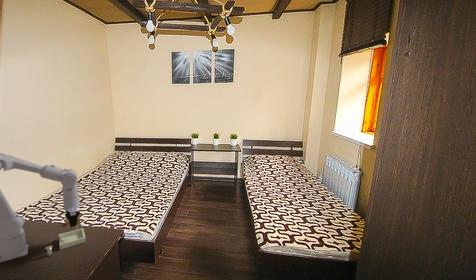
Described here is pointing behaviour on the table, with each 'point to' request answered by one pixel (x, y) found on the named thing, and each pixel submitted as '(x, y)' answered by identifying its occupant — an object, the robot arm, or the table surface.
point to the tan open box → (70, 226)
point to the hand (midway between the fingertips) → (72, 223)
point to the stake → (49, 250)
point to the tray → (72, 238)
